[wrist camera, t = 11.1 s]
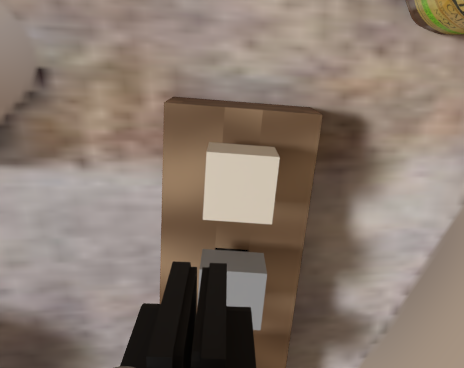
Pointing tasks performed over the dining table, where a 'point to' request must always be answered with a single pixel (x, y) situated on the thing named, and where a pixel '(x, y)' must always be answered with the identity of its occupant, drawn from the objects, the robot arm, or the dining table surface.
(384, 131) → the dining table surface
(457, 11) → the sauce bottle
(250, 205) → the cream rectangular block
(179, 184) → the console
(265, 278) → the slate-grey key
